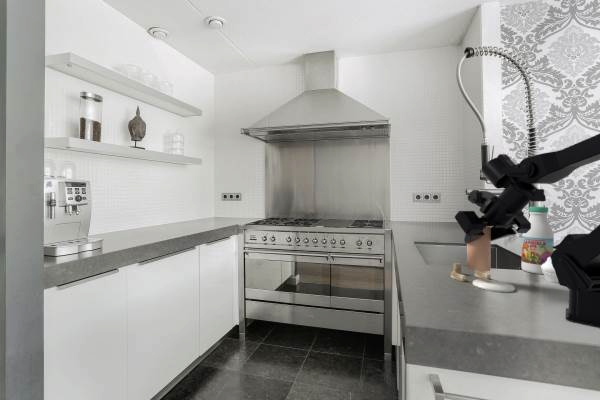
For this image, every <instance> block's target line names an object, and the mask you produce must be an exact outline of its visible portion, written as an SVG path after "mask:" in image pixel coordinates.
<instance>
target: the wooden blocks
mask: <svg viewBox="0 0 600 400" xmlns="http://www.w3.org/2000/svg"><path fill="white" fill-rule="evenodd" d="M452 264H453V265H452V271H450V278H452V279H454V280H457V281H460V282H463V283H464V282H466V279H467V277H466V276H467V275H464V274H462V263H460V262H458V263H457V262H456V263H455V262H454V263H452ZM474 276H475V277H477V278H479V279H486V280H491V274H490V273H487V272H485V271H475V270H474Z"/></svg>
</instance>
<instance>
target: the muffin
mask: <svg viewBox="0 0 600 400" xmlns="http://www.w3.org/2000/svg"><path fill="white" fill-rule="evenodd" d="M541 269H542V270H543V271H542V272H543V274H542V275H544V277H545V279H546V281H548V282H551V283H554V284H556V283H557V284H559V281H558V278H557V275H556V272H555V269H554V268H553V266H552V263H551V258H550V257H549V258H547V261H546V262H545V263H544V264H542V265H541Z"/></svg>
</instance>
